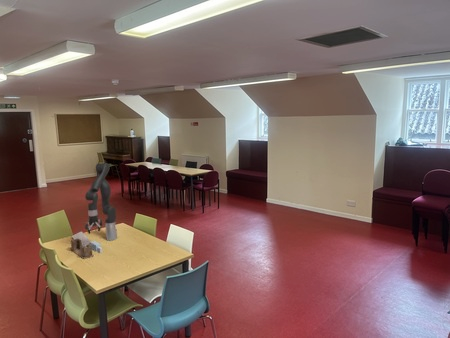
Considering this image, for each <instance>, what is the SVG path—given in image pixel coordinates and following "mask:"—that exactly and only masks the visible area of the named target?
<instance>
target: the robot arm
mask: <svg viewBox="0 0 450 338" xmlns="http://www.w3.org/2000/svg"><path fill="white" fill-rule="evenodd" d="M110 168H111V167H110V165H109V163H108V162H104V163H103V162H100V163H99V162H98V163H96V165H95V171H96V175H97V177H96V178H95V179H94V181H92V184H91V186H90V188H89V189H88V190H87V192H86V193H85V195H84V196H85V197H84V198H85V200H86V201H92V202H89V203H88V205H87V207H88V212H87V213H88V222H87V221H86V222H84V225H85V226H84V229H85V230H87V234H89V235H90V234H91V229H92V227H94V226H95V227H96V226H97V231H98V232H100V231H101V227H103V220H102V219H101V218H100V219H99V214H98V207H97V205H98V200H99V194H98V192H100V196H101V197H100V198H101V205H102V213H103V215H105V216H107V218H105V220H104V221H105V223H104V224H105V236H106V241H109V242H110V241H111V242H112V241H116V239H118V232H117V230H118V229H117V227H116V219H117V217H116V216H117V211H116V210H117V209H116V206H115V207H114V206H112V205H111V204H110V197H111V195H112V190H111V185H110V183H109V182H108V180H106V176H107V175H108V173H109V172H110Z"/></svg>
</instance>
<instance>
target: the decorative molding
mask: <svg viewBox="0 0 450 338" xmlns="http://www.w3.org/2000/svg"><path fill="white" fill-rule="evenodd" d="M71 237H72V238H73V239H72V240H74V239H80V240H81V243H82V246H83V247H87V245H88V244H89V242H91V240H90V239H89V238H88V237H87V236H86V235H85V233H84V232H83V231H79V232H77V233H75V234H73V235H71Z"/></svg>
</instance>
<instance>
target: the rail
mask: <svg viewBox="0 0 450 338" xmlns="http://www.w3.org/2000/svg"><path fill="white" fill-rule="evenodd" d="M89 245H90V246H92V251H95V252H96V253H97V252H98V253H99V254H100V253H101V254H102V253H103V248H102V245H101V243H99V242H97V241H96V240H93V241H90V242H89Z"/></svg>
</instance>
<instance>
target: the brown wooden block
mask: <svg viewBox="0 0 450 338" xmlns="http://www.w3.org/2000/svg"><path fill="white" fill-rule="evenodd" d="M70 244H71V249H70V251H71V252H73V253H74V254H75V255H77V256H78V257H80V258H82V259H83V260H86V259H87V260H88V259H89V258H93V257H94V254H93V249H92V246H90V245H89V244H88V245H87V246H86V247H83V246H82V243H81V240H80V239H72V240H70Z"/></svg>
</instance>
